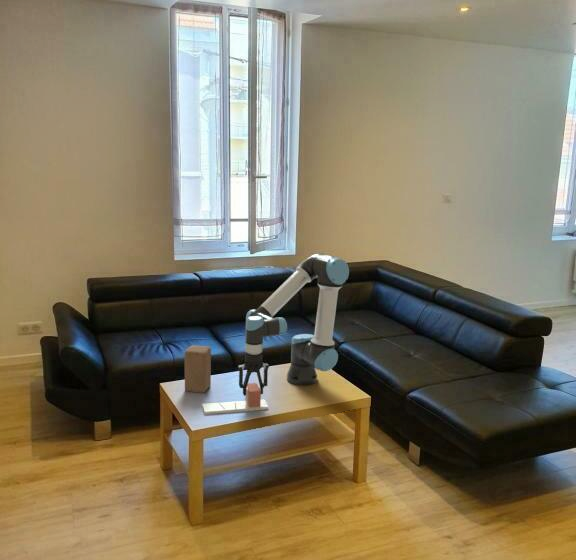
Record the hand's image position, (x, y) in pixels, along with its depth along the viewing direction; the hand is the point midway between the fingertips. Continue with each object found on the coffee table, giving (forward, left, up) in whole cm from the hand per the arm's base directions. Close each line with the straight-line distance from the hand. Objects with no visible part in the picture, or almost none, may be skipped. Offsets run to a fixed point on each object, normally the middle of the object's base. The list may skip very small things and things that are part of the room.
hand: (252, 401), depth 257 cm
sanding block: (0, 0, -1) cm, 1 cm away
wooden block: (+22, -24, -3) cm, 32 cm away
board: (+8, 0, -3) cm, 8 cm away
